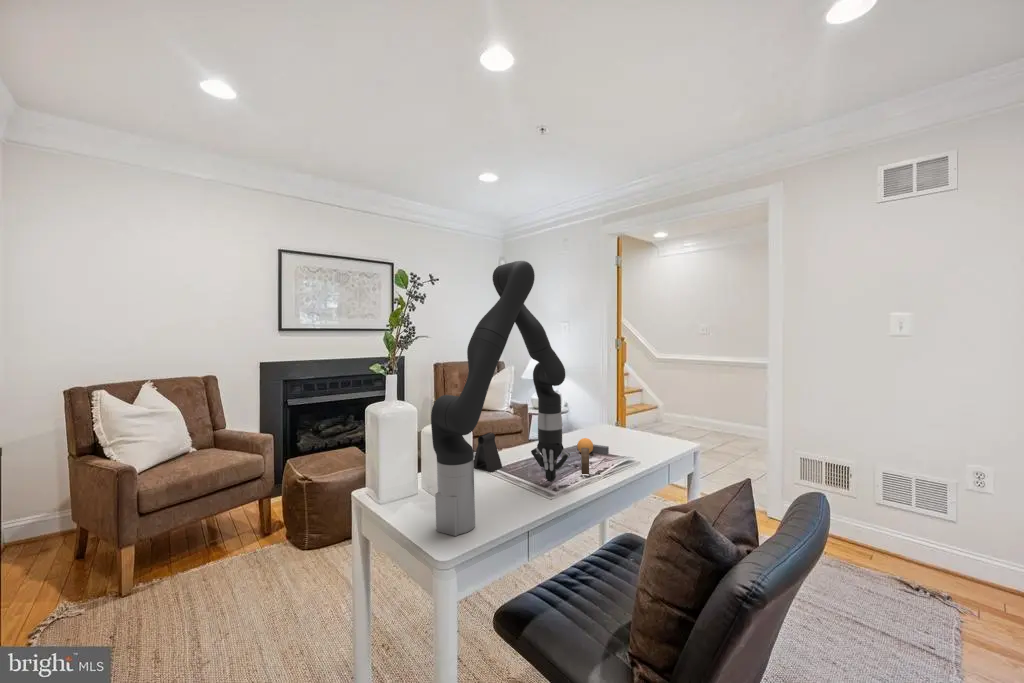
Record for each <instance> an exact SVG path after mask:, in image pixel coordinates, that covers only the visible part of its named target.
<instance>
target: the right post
mask: <svg viewBox="0 0 1024 683" xmlns="http://www.w3.org/2000/svg"><path fill="white" fill-rule="evenodd" d="M580 453H581V467H580V470H581V471H580V472H581V473H582V474H589V475H590V469H589V455H590V453H589V448H581V452H580Z"/></svg>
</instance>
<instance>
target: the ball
mask: <svg viewBox="0 0 1024 683" xmlns="http://www.w3.org/2000/svg"><path fill="white" fill-rule="evenodd" d="M577 444H578V450H577V451H579V452H580V453H581V448H589V454H591V453H593V452H592V450H593V444H594V443H593V441H592V440H591V439H589V438H587V437H584V438H583V437H582V438H580V439H579V441H578V442H577Z"/></svg>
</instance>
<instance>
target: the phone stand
mask: <svg viewBox="0 0 1024 683" xmlns="http://www.w3.org/2000/svg"><path fill="white" fill-rule="evenodd" d="M501 460H502V459H501V458H500V454H499V450H498V447H497V443H496V435H495V433H494V432H487V433H485V434H483V435H480V436H478V438H477V448H476V451H475V455H474V470H480V471H483V472H488V473H491V472H492V473H493V471H494V472H495V470H496V471H498V470H500V469H502V468H503V464H502V461H501ZM497 469H498V470H497Z"/></svg>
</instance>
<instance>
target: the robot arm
mask: <svg viewBox="0 0 1024 683" xmlns="http://www.w3.org/2000/svg"><path fill="white" fill-rule="evenodd" d="M535 276H536V275H535V269H534V267H533V265H532V264H531V263H529V262H528V261H525V260H516V261H515V260H514V261H513V262H508V263H504V264H500V265H498V266H497V267H496V268H494V270H493V273H492V284H493V287H494V289H495V292H496V293H497V295H498V296H499V299H498V300H497V302H496V303H495V304H494V305H493V306H492V307H491V308H490V310H488V311H487V313H485V315H483V316H482V318H481V319H480V320H479V322H478V323H477V325H476V326H475V329H474V330H473V333H472V334H471V337H470V340H469V342H468V345H467V350H466V353H467V354H466V355H467V366H468V372H467V378H466V381H465V385H464V386H463V389H462V391H461V393H460V395H459V396H458V395H453V394H452V395H451V394H444V395H441V396H438V398H436V400H435V402H434V403H433V404H432V408H431V412H430V413H431V414H430V426H431V435H432V436H431V438H432V447H433V450H434V453H435V455H436V479H437V480H436V481H437V492H436V493H435V495H434V497H435V498H434V499H435V500H434V501H435V531H436V532H439V533H442V534H443V533H444V534H447V535H450V536H453V537H457V536H459V535H463V534H466V533H468V532H471V531H472V530H473V529H474V528H475V527H476V505H475V504H476V502H475V500H476V499H475V497H476V496H475V469H474V458H475V455H474V448H473V446H472V445H471V444H470V443H469V442H468V441H467V440H466V439H465V437H464V436H467V435H469V434H471V433H472V432H473V431H474V430H475V428H476V426H477V425H478V422H479V420H480V418H481V415H482V411H483V408H484V404H485V401H486V399H487V398H486V397H487V394H488V391H489V387H490V384H491V383H492V380H493V377H494V374H495V372H496V369H497V366H498V363H499V362H500V359H501V358H502V355H503V353H504V350H505V348H506V344H507V342H508V339H509V338H510V337H509V336H510V334H511V332H512V330H513V327H514V325H516V327H517V329H518V331H519V333H520V335H521V337H522V340H523V342H524V345H525V347H526V350H527V353H528V356H529V357H530V358H531V359H533V360H534V361H536V362H537V363H536V364H535V366H534V368H533V371H532V380H533V384H534V388H535V393H536V395H537V399H538V402H537V410H538V412H537V441H538V443H537V447H535V448H533V449H532V450H531V451H530V453H531V455H532V456H533V458H534V460H535V461H536V462H537V464H538V466H539V467H540V468H544V470H545V480H546V482H548V483H553V482H554V481H555V480H556V476H557V472H556V471H557V470H559V469H560V468H562V466H564V463H565V462H566V460H567V459H568V458H569V457H570V453H571V452H566V451H565V449H564V445H563V416H562V398H561V395H560V394H559V393H558V392H557V391H555V390H554V387H557V386H561V385H562V384H563V383H564V381H565V379H566V369H565V366H564V364H563V361H561V359H560V357H559V356H558V355H557V353H556V352H555V350H554V349H553V347H552V346H551V343H550V341H549V337H548V335H547V333H546V329H545V328H544V326H543V325H542V323H541V322H540V321H539V320H538V319H537V318H536V316H535V315H534V314H533V313H532V312H531V311H530V310H529V308H527V306H526V304H525V302H526V300H527V299H528V296H529V295H530V293H531V291H532V289H533V286H534V284H535V283H534V282H535V278H536V277H535ZM559 456H560V460H558V458H559ZM558 461H559V462H558ZM557 462H558V464H557Z"/></svg>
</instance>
